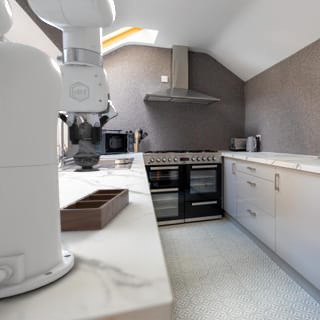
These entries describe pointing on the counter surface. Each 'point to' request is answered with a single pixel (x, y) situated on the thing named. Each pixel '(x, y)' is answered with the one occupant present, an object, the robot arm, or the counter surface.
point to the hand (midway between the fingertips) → (86, 143)
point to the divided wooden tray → (93, 209)
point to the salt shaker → (86, 149)
